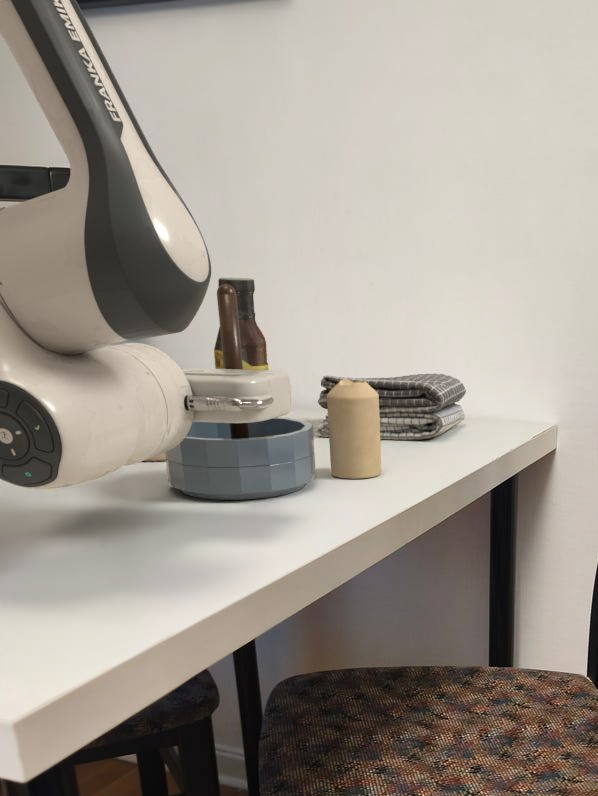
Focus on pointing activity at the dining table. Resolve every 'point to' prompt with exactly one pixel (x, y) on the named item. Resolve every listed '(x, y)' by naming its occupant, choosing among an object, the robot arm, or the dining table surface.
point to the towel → (409, 404)
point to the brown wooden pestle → (231, 343)
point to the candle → (354, 430)
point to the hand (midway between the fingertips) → (208, 382)
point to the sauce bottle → (245, 328)
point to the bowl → (243, 460)
